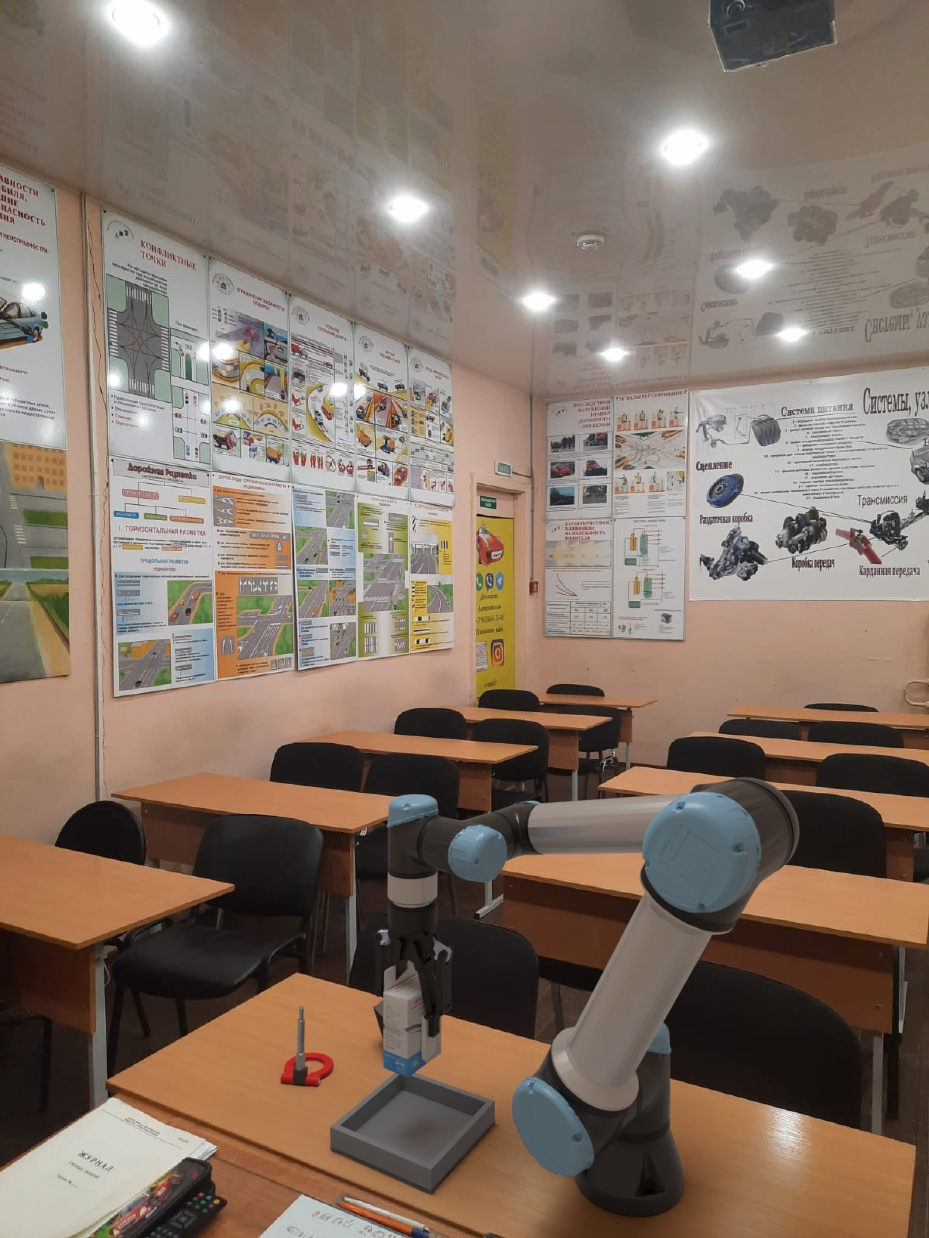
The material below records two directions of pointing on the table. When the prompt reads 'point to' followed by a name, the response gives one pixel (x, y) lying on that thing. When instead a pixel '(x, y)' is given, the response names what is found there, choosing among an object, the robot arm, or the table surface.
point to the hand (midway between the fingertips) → (412, 1049)
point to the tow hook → (301, 1071)
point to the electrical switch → (379, 1015)
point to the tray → (413, 1129)
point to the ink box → (404, 1022)
